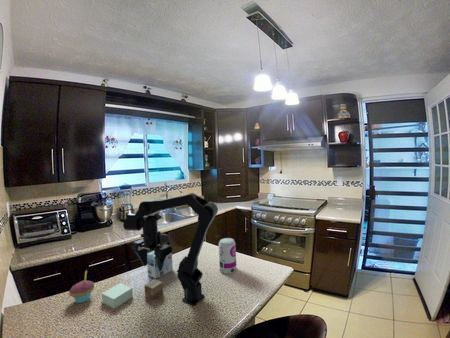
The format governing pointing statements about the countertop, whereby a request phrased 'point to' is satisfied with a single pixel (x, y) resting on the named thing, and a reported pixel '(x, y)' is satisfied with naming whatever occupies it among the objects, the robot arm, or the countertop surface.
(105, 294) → the sage block
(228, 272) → the supplement can
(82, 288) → the cupcake
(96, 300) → the countertop surface
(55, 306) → the countertop surface
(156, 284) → the walnut cube
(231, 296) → the countertop surface
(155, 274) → the light bulb box
